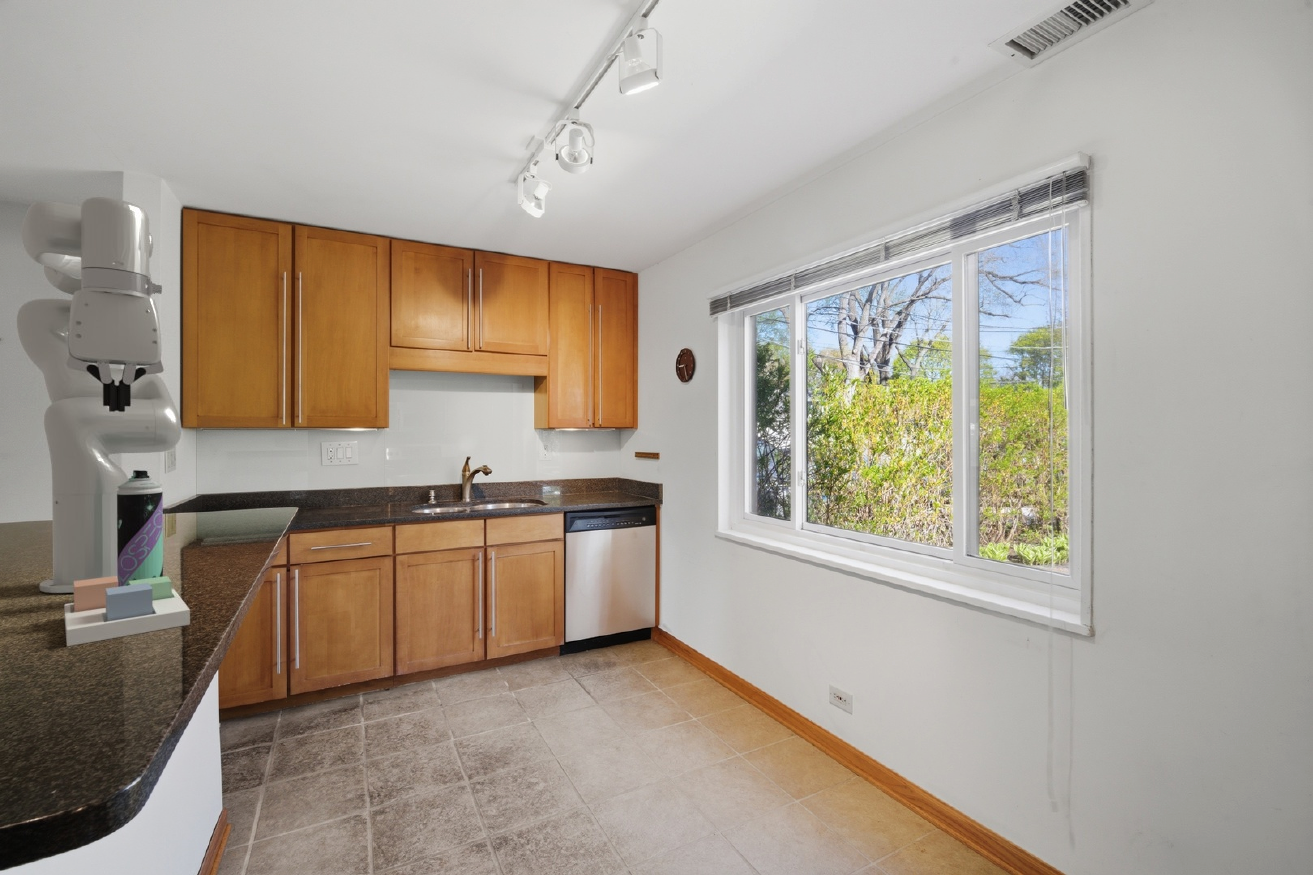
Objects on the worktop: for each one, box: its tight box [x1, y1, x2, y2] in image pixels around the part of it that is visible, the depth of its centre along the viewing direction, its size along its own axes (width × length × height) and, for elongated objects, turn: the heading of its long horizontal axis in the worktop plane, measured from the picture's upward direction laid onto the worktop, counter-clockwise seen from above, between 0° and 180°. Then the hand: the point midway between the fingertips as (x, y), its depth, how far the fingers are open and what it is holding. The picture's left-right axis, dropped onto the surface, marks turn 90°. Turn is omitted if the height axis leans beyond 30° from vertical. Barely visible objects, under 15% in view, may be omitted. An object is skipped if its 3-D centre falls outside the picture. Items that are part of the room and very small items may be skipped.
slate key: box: [106, 583, 153, 621], centre depth 81 cm, size 4×4×4 cm
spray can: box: [117, 469, 164, 587], centre depth 95 cm, size 6×6×20 cm
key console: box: [64, 588, 191, 647], centre depth 83 cm, size 15×12×2 cm
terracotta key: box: [73, 576, 118, 612], centre depth 84 cm, size 4×4×4 cm
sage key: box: [129, 575, 173, 601], centre depth 88 cm, size 4×4×4 cm
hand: (116, 411), depth 90 cm, fingers closed
